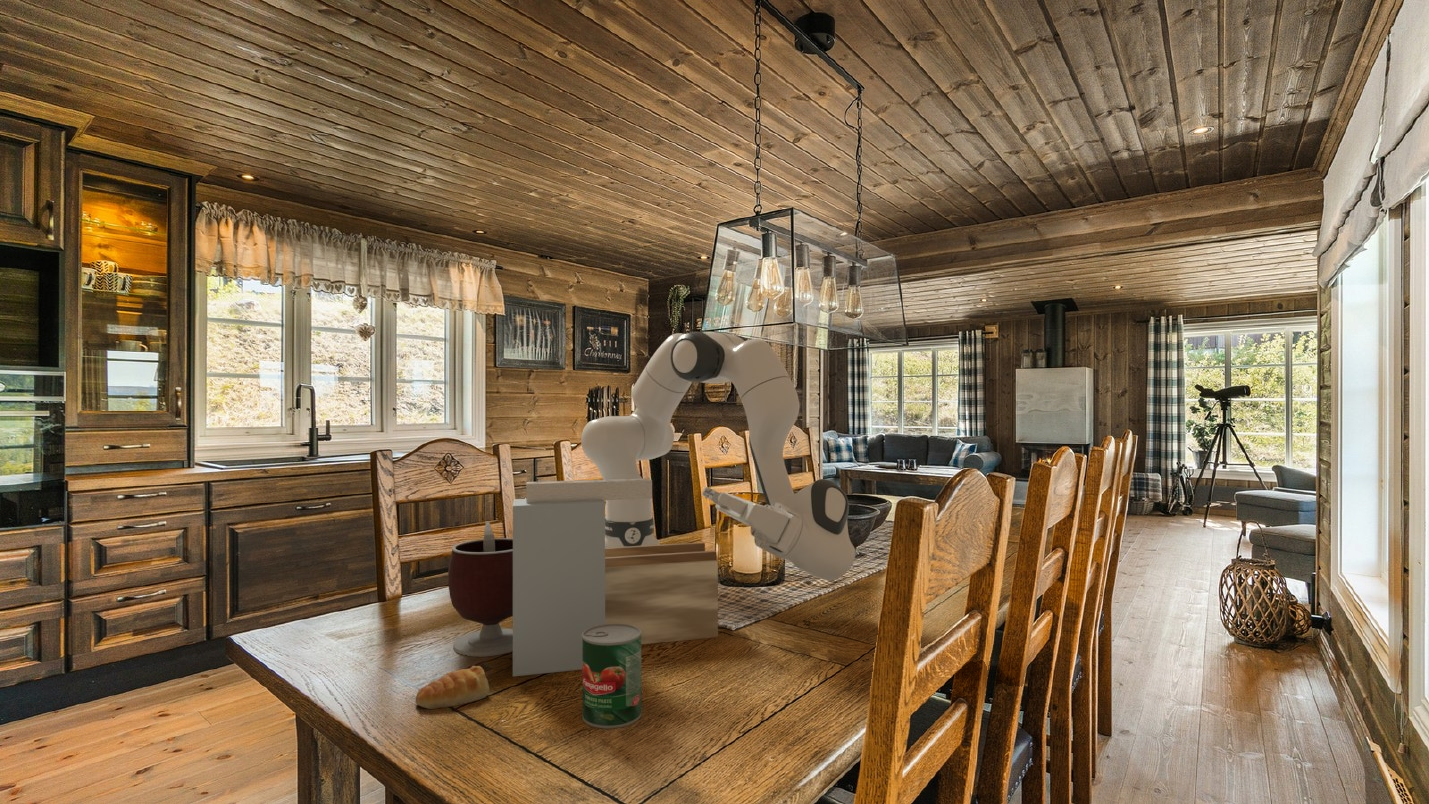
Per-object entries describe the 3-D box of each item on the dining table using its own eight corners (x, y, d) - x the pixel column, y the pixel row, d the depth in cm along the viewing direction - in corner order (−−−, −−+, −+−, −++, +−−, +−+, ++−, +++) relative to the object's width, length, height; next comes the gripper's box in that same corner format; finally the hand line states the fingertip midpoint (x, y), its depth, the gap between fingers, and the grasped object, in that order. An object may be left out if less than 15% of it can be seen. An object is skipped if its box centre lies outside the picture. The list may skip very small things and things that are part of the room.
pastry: (424, 718, 90) (424, 689, 90) (408, 702, 95) (408, 674, 95) (493, 698, 96) (493, 671, 96) (474, 684, 101) (474, 658, 101)
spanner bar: (526, 500, 109) (526, 482, 109) (648, 496, 114) (648, 478, 114) (526, 503, 106) (526, 484, 106) (652, 498, 111) (652, 480, 111)
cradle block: (582, 629, 125) (582, 548, 125) (702, 618, 131) (702, 541, 131) (587, 649, 114) (587, 561, 114) (717, 637, 121) (717, 552, 121)
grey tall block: (513, 658, 111) (513, 499, 111) (599, 649, 114) (599, 496, 115) (512, 676, 103) (512, 506, 103) (605, 667, 107) (605, 502, 107)
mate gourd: (537, 651, 114) (537, 532, 114) (449, 663, 108) (449, 538, 109) (525, 624, 128) (525, 518, 128) (447, 633, 123) (447, 523, 123)
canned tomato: (644, 701, 94) (644, 622, 94) (639, 728, 86) (639, 642, 86) (587, 702, 94) (587, 623, 94) (576, 729, 86) (576, 643, 86)
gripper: (763, 505, 133) (704, 473, 130) (805, 520, 114) (737, 482, 111) (748, 534, 132) (688, 502, 129) (788, 554, 113) (719, 517, 110)
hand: (711, 493), depth 120 cm, fingers open, 8 cm apart
